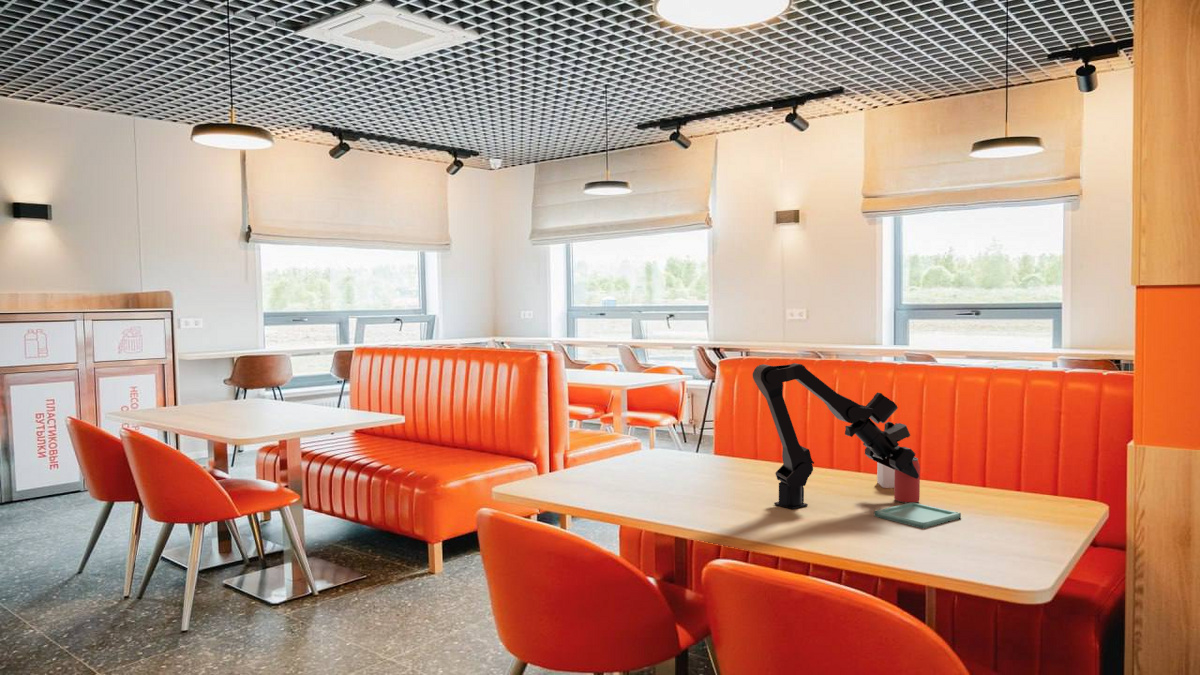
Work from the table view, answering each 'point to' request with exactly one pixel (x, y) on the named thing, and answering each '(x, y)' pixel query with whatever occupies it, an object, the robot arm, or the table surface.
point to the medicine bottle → (885, 475)
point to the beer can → (907, 485)
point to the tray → (917, 514)
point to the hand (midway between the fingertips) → (909, 473)
